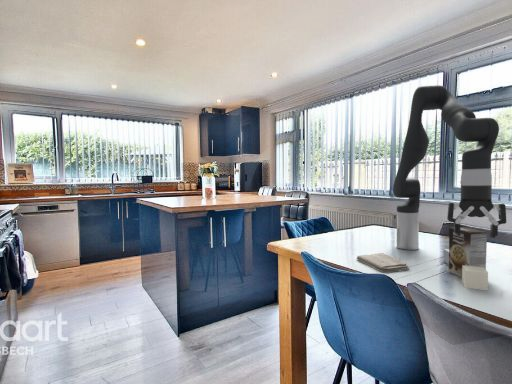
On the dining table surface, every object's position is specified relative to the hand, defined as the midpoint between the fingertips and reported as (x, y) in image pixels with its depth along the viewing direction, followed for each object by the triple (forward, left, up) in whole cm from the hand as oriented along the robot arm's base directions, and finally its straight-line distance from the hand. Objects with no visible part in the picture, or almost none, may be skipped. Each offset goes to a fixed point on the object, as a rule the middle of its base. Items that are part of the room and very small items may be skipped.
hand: (475, 236), depth 88 cm
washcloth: (-28, +12, -16) cm, 34 cm away
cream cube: (0, 0, -16) cm, 16 cm away
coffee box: (-1, +10, -16) cm, 19 cm away
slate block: (-3, +24, -16) cm, 29 cm away
